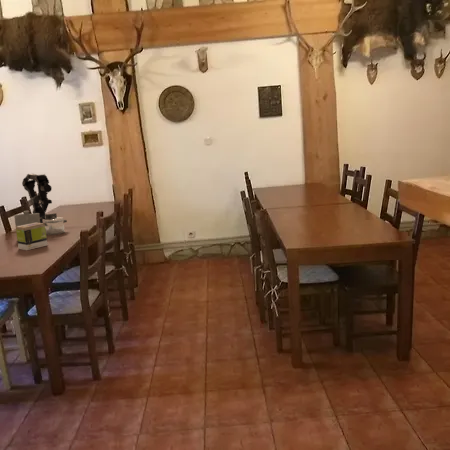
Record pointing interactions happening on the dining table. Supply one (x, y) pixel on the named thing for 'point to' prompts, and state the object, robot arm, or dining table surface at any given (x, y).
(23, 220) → the hip flask
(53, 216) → the cooker lid
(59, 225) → the cooker pot
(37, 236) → the tea box
